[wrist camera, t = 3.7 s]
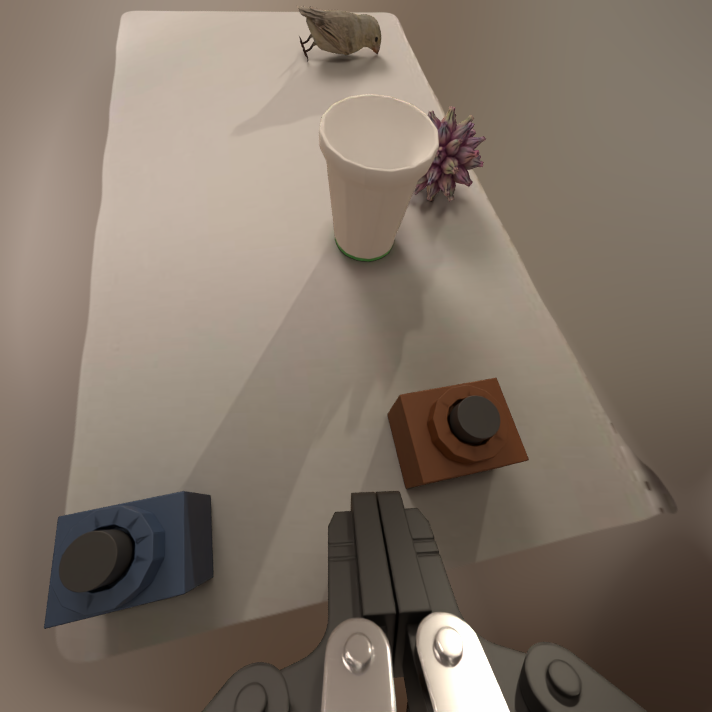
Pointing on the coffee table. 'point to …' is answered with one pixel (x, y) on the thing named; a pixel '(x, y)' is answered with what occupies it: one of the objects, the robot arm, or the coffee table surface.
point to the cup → (373, 168)
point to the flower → (451, 156)
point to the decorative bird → (341, 31)
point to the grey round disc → (475, 419)
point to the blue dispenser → (138, 554)
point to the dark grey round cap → (95, 560)
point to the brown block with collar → (449, 435)
